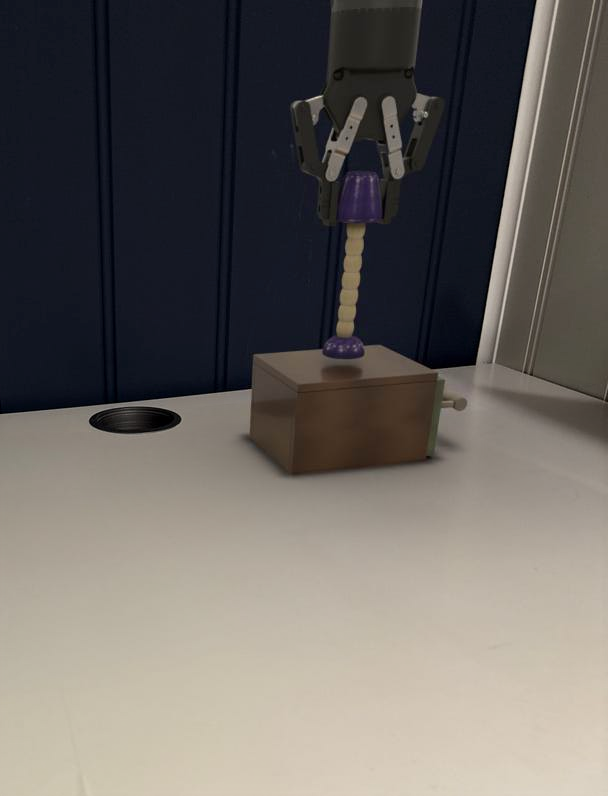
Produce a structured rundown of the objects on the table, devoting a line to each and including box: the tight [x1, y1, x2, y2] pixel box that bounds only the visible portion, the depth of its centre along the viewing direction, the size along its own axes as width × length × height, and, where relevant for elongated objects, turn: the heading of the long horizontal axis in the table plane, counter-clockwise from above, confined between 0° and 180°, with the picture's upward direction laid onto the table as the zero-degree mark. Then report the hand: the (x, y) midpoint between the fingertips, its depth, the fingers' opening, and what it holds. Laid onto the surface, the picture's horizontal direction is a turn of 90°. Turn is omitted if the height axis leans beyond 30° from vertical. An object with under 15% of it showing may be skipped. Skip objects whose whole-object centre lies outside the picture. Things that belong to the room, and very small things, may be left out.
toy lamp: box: [322, 170, 382, 359], centre depth 90 cm, size 5×5×17 cm
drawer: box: [426, 375, 468, 457], centre depth 97 cm, size 18×11×8 cm, turn 103°
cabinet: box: [249, 344, 439, 476], centre depth 97 cm, size 15×13×10 cm
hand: (356, 223), depth 88 cm, fingers closed on toy lamp, 4 cm apart
